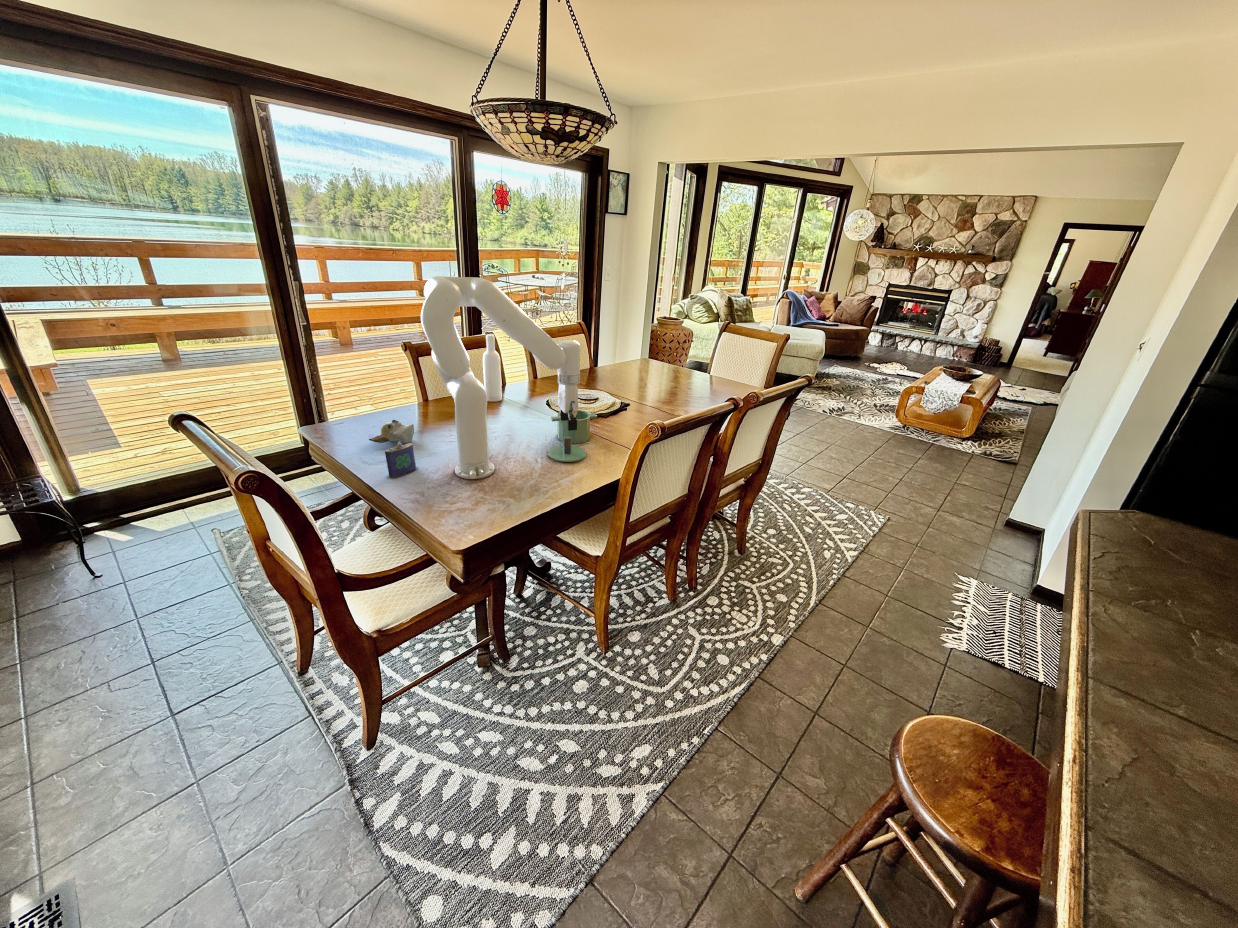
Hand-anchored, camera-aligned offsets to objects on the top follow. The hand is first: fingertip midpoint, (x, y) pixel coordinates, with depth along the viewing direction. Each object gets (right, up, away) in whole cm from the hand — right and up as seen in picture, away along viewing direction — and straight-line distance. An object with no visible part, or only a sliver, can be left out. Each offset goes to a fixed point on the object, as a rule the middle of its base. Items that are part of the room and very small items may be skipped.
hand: (568, 425), depth 170 cm
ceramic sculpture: (-64, -6, +7) cm, 65 cm away
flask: (-52, -17, -15) cm, 57 cm away
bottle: (-41, +17, +57) cm, 72 cm away
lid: (-1, -10, +5) cm, 11 cm away
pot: (0, -3, +21) cm, 21 cm away
